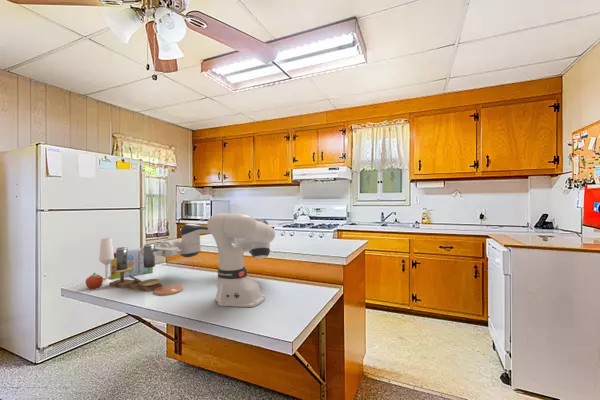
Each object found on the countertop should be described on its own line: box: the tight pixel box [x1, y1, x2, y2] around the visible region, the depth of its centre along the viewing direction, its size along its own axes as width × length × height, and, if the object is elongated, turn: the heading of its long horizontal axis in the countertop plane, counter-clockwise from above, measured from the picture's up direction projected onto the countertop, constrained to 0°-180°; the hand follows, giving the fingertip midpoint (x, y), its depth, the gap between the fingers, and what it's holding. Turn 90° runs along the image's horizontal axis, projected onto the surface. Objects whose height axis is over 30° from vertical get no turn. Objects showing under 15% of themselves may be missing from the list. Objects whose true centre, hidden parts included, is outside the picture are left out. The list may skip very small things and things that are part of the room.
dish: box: [153, 283, 184, 296], centre depth 141 cm, size 13×13×1 cm
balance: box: [108, 267, 163, 292], centre depth 147 cm, size 27×9×8 cm, turn 73°
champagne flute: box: [98, 237, 114, 285], centre depth 154 cm, size 7×7×24 cm
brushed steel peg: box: [143, 243, 156, 268], centre depth 144 cm, size 5×5×11 cm
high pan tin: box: [115, 246, 129, 270], centre depth 150 cm, size 5×5×11 cm
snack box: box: [109, 247, 154, 280], centre depth 169 cm, size 21×6×15 cm, turn 130°
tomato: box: [84, 272, 104, 290], centre depth 145 cm, size 7×7×8 cm
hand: (147, 253), depth 143 cm, fingers closed on brushed steel peg, 5 cm apart
